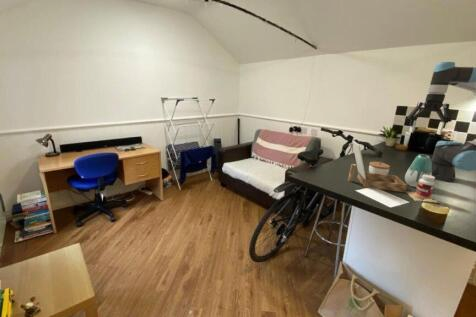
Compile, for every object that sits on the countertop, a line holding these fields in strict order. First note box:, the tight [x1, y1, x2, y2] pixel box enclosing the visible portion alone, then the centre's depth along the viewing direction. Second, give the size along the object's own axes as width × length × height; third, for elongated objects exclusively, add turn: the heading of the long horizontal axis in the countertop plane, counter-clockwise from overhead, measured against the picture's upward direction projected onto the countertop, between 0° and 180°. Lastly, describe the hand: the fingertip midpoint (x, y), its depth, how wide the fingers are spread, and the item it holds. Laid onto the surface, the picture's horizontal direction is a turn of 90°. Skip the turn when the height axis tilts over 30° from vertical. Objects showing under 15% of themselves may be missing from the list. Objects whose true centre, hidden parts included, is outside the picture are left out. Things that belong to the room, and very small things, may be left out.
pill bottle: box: [415, 175, 436, 199], centre depth 111 cm, size 6×6×11 cm
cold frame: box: [347, 163, 409, 193], centre depth 126 cm, size 26×14×10 cm, turn 78°
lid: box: [351, 140, 366, 179], centre depth 126 cm, size 19×13×1 cm
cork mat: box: [405, 190, 436, 203], centre depth 113 cm, size 10×10×1 cm
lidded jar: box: [368, 161, 391, 175], centre depth 138 cm, size 11×11×9 cm
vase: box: [404, 153, 432, 189], centre depth 125 cm, size 12×12×18 cm
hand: (424, 133), depth 127 cm, fingers open, 13 cm apart
